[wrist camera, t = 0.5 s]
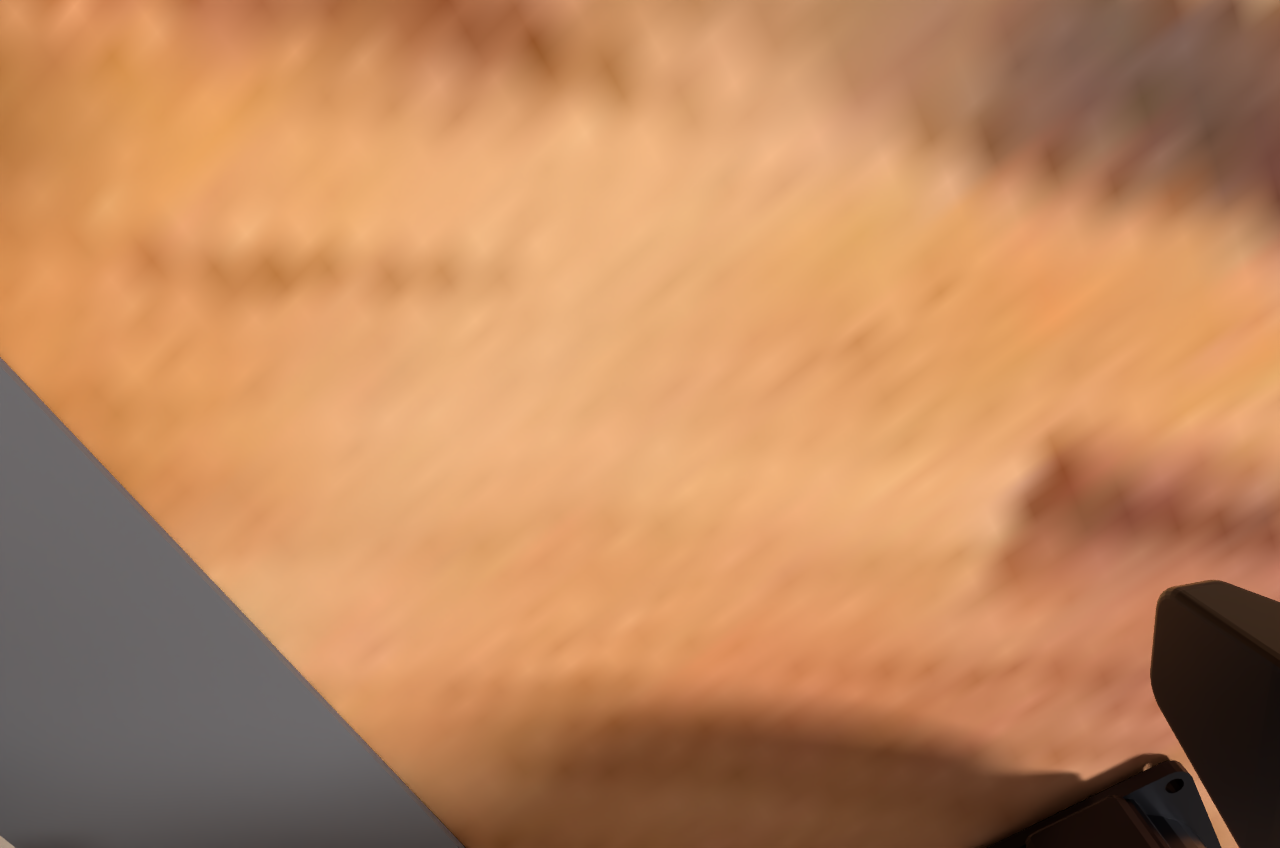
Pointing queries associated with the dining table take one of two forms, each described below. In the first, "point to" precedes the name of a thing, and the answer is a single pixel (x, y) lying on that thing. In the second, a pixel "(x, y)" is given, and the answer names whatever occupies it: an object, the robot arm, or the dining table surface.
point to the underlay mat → (155, 684)
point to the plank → (5, 843)
